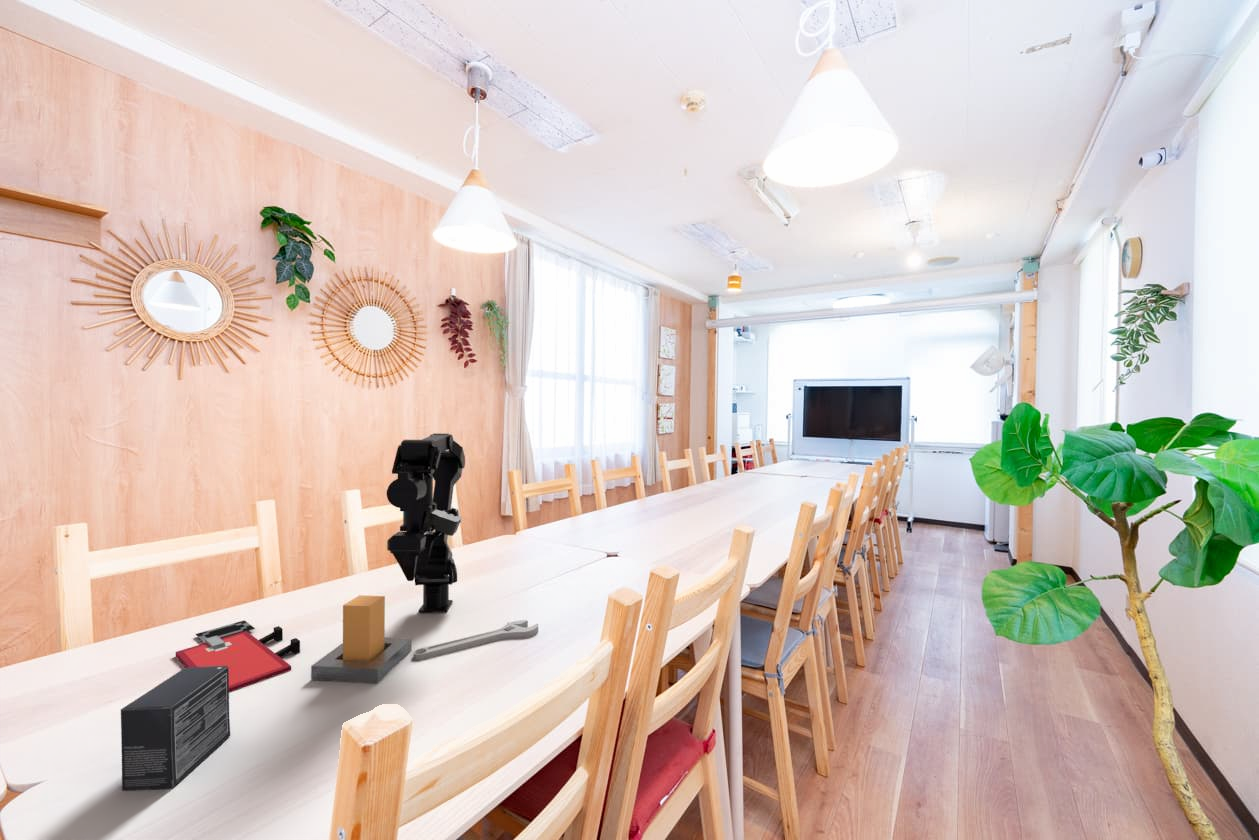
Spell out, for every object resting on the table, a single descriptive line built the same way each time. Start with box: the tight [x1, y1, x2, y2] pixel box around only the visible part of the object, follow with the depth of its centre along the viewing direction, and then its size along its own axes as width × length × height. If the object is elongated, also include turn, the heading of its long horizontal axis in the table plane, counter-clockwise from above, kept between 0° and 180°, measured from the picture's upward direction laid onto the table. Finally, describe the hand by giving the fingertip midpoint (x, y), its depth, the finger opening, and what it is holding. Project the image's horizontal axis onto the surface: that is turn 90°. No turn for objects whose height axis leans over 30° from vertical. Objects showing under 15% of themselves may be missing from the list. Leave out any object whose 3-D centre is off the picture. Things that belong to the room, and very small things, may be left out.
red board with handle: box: [175, 620, 301, 693], centre depth 99 cm, size 30×3×15 cm
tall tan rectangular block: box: [342, 594, 386, 661], centre depth 95 cm, size 5×5×12 cm
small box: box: [120, 666, 231, 792], centre depth 68 cm, size 11×6×10 cm, turn 5°
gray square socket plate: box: [310, 636, 413, 684], centre depth 95 cm, size 12×12×2 cm
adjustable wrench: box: [412, 619, 539, 660], centre depth 106 cm, size 25×6×2 cm, turn 120°
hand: (417, 573), depth 107 cm, fingers open, 9 cm apart
